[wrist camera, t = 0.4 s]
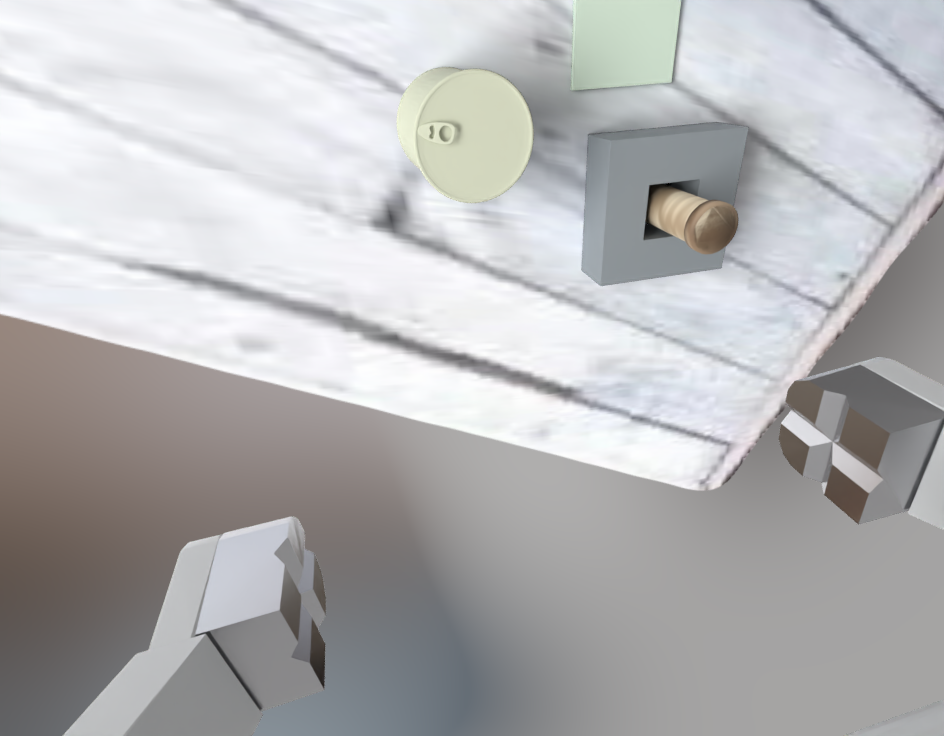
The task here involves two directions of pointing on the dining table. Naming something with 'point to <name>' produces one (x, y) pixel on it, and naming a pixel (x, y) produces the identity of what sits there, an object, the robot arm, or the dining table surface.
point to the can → (466, 132)
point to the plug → (691, 218)
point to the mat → (623, 42)
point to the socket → (626, 195)
